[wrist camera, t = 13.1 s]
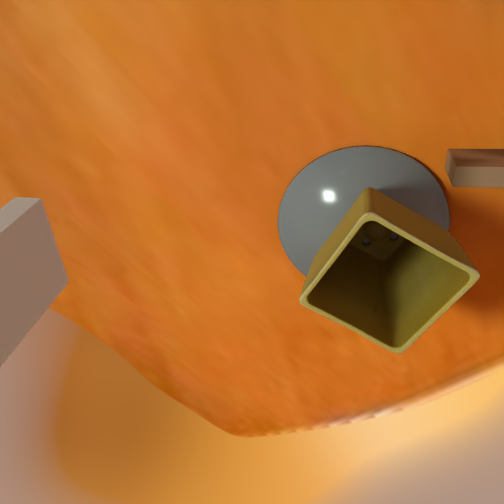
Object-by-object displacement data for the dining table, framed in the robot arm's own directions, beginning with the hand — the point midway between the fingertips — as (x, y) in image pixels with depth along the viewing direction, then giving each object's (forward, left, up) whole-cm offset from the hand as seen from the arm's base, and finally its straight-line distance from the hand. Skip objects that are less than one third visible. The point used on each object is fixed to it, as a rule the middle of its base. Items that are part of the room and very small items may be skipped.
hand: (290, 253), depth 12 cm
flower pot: (+4, -13, -26) cm, 29 cm away
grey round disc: (+3, -13, -26) cm, 29 cm away
